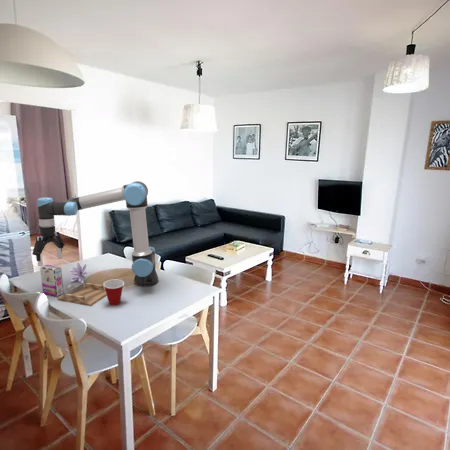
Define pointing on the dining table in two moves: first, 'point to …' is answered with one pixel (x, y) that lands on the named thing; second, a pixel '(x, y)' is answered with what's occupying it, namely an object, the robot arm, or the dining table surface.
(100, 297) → the board
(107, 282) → the plastic cup
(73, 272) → the water lily
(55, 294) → the candy bar box
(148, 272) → the robot arm
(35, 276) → the dining table surface
